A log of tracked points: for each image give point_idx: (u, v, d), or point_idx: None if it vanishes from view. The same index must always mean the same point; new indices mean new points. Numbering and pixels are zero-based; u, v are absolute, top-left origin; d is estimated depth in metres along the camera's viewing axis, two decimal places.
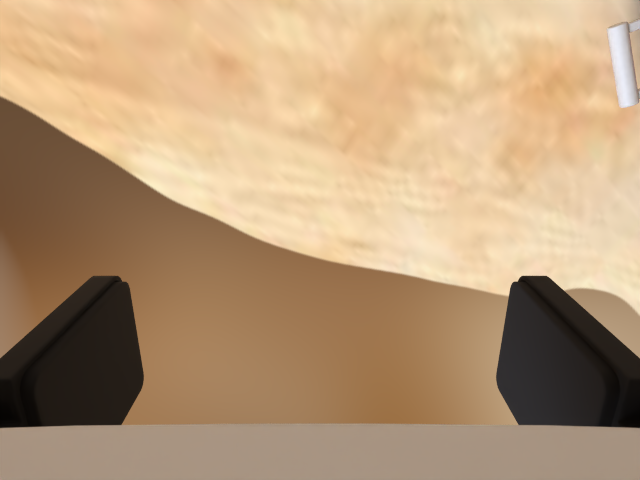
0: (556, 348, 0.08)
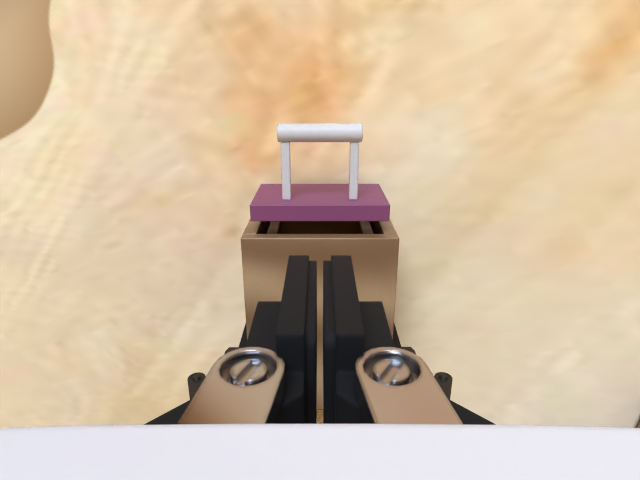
0: None
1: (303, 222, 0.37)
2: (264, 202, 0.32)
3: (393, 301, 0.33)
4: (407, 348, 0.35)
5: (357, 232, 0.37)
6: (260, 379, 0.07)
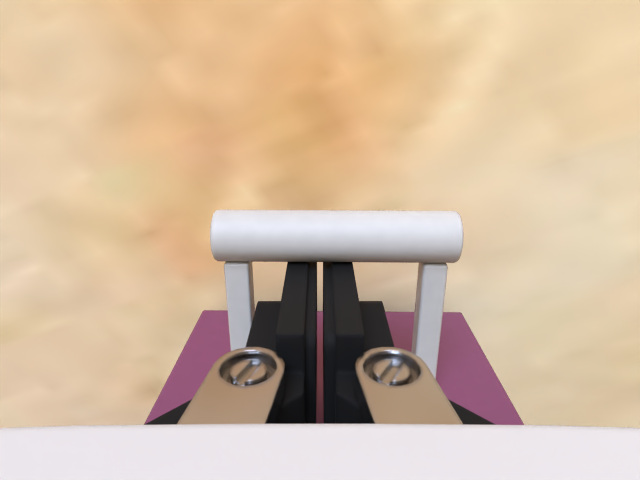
0: None
1: None
2: None
3: None
4: None
5: None
6: (260, 379, 0.07)
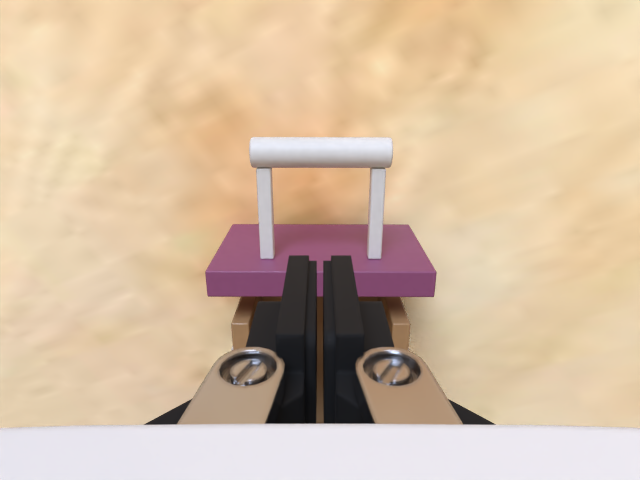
0: None
1: None
2: (231, 265, 0.20)
3: None
4: None
5: None
6: (260, 379, 0.07)
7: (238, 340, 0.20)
